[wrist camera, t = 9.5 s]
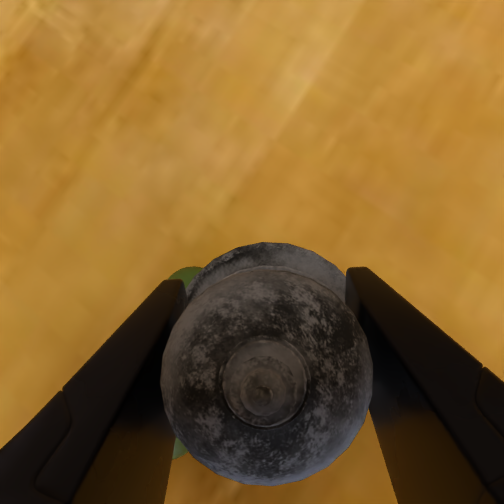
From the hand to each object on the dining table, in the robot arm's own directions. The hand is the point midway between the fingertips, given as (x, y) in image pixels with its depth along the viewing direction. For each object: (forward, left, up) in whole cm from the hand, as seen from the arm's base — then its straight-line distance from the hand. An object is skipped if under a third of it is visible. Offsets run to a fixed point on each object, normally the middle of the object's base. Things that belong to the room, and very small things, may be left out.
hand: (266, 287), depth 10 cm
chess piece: (-1, 0, -7) cm, 7 cm away
